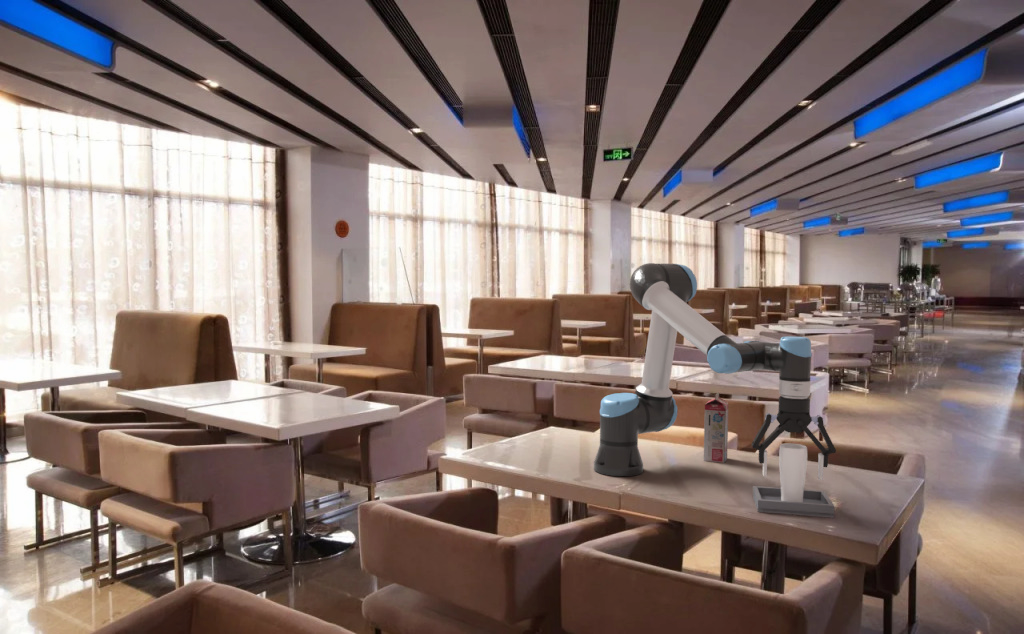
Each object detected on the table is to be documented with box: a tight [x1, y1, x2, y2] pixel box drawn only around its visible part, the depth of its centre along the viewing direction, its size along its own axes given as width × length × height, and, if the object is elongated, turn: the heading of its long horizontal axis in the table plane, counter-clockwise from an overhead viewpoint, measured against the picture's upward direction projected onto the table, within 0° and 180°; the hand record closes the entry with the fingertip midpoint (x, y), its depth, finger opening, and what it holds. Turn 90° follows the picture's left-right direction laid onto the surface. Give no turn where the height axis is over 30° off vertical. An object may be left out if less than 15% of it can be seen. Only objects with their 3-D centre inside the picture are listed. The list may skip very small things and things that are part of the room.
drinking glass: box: [778, 442, 808, 502], centre depth 182 cm, size 7×7×15 cm
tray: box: [752, 485, 835, 519], centre depth 183 cm, size 18×13×3 cm
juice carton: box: [703, 391, 729, 464], centre depth 231 cm, size 7×7×22 cm
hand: (792, 477), depth 182 cm, fingers open, 13 cm apart
